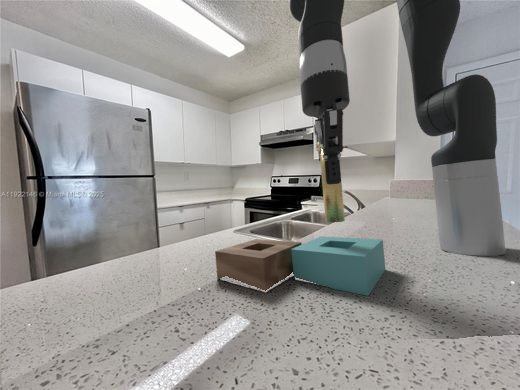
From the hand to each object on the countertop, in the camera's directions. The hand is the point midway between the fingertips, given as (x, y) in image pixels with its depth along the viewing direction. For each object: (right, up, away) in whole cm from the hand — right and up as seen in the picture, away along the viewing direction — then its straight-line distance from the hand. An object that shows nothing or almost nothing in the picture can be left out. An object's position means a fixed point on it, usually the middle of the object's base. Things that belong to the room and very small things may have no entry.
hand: (331, 184), depth 35 cm
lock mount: (-12, -16, +3) cm, 20 cm away
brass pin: (0, -6, 0) cm, 6 cm away
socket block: (+1, -15, 0) cm, 15 cm away
